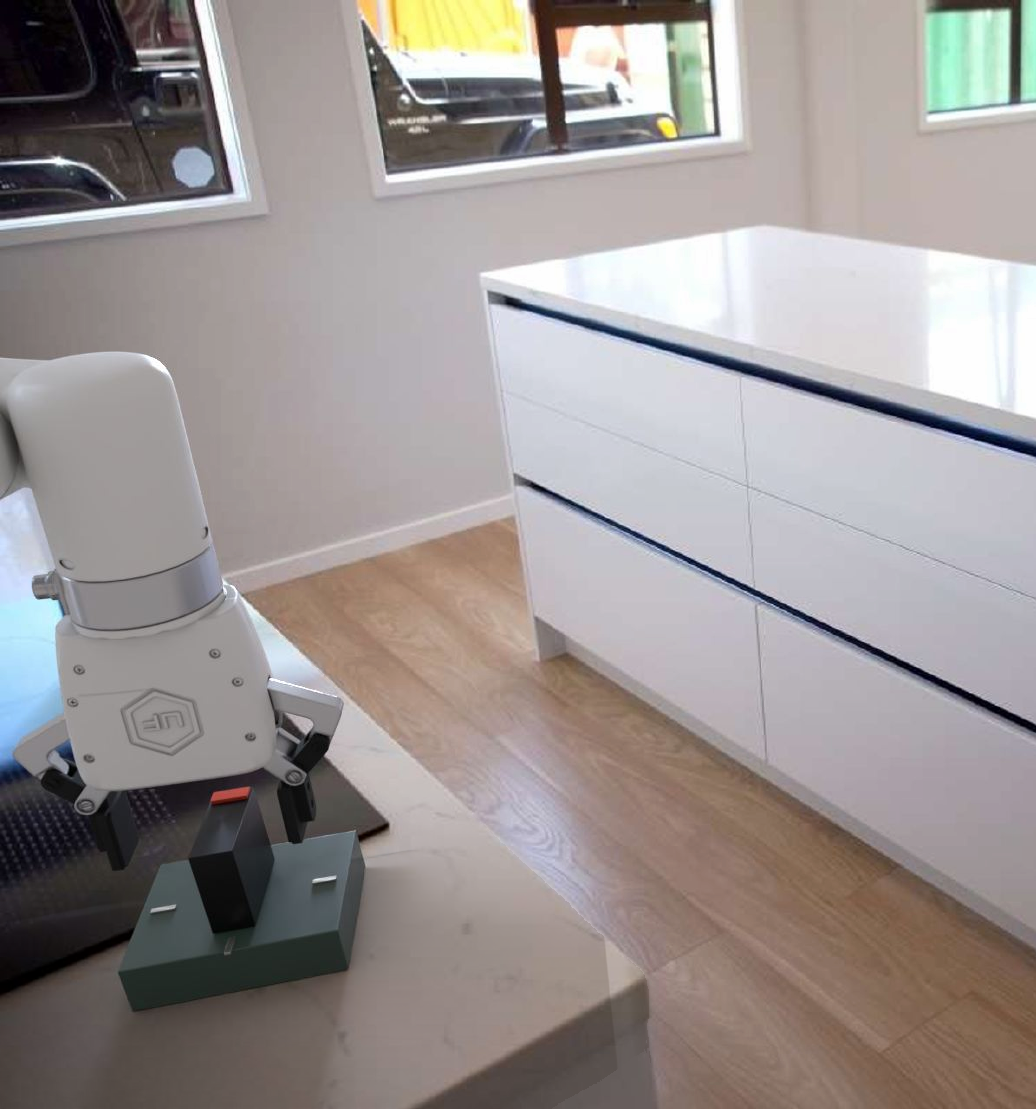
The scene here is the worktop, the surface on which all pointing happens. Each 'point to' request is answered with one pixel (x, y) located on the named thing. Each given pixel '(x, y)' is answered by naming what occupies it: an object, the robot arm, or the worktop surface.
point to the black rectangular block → (232, 860)
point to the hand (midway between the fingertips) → (214, 843)
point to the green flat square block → (255, 952)
